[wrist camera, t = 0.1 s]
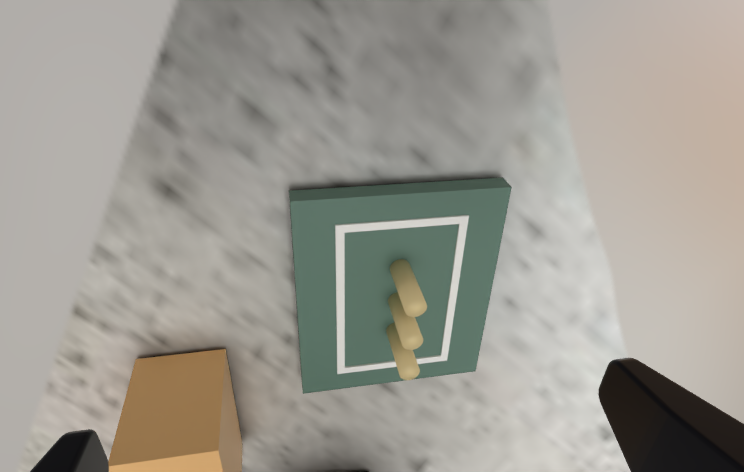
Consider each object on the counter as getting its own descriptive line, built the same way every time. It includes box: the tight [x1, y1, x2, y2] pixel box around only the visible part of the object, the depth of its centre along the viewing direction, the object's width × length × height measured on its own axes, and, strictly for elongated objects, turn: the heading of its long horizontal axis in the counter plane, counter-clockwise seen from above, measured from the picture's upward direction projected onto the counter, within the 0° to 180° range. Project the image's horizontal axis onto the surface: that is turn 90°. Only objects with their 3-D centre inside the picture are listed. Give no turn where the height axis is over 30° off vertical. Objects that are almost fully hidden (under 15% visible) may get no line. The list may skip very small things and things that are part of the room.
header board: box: [289, 178, 511, 394], centre depth 25 cm, size 12×10×4 cm
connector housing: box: [108, 349, 242, 472], centre depth 26 cm, size 8×4×6 cm, turn 179°
